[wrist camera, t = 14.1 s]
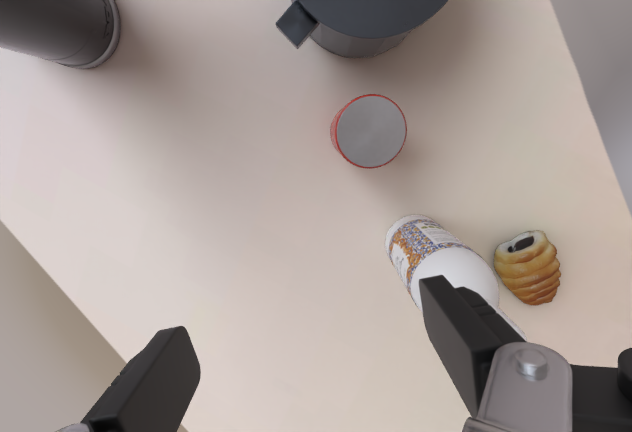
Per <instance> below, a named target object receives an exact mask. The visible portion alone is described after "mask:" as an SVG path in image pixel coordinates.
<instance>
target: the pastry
mask: <svg viewBox="0 0 632 432" xmlns="http://www.w3.org/2000/svg"><path fill="white" fill-rule="evenodd" d="M556 254H557V250H556V248H555V246H554V245H553V244H551V243H550V242H549V240H548V239H547V237H546V235H545V233H544V232H543V231H539V230H536V231H528V232H525V233H523V234H520V235H518V236H517V237H515V238H514V239H513V240H511V241H509V242H505V243H503V244H501V245H499V246H498V247H497V249H496V251H495V255H494V267H495V270H496V272H497V273H498V275H499V276H500V278H501V279H502V281H503V283H504V284H505V286H507V287H508V289H509V290H511V291H512V292H513V293H514V295H515V296H517V297H518V298H519V299H520V300H521V301H522V302H524V303H526V304H529V305H539V304H543V303H548V302H551V301H552V299H553V297H554V296H555V295H556V292H557V288H558V286H559V285H560V281H559V279H558V278H559V277H560V276H561V273H560V270H559V267H560V263H559V261H558V259H557V258H556V257H555V256H556Z"/></svg>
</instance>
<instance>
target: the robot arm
mask: <svg viewBox="0 0 632 432" xmlns="http://www.w3.org/2000/svg"><path fill="white" fill-rule="evenodd" d="M119 35H120V18H119V13H118V10H117V6H116V4H115V1H114V0H0V47H1V48H5V49H9V50H13V51H16V52H20V53H24V54H28V55H32V56H35V57H39V58H42V59H46V60H50V61H54V62H57V63H59V64H62V65H65V66H69V67H73V68H80V69H85V68H92V67H95V66H98V65H100V64H101V63H103V62H104V61H106V60H107V59H108V58H109V57H110V56H111V54H112V53H113V52H114V50H115V48H116V46H117V43H118V40H119ZM419 290H420V297H421V303H422V310H423V317H424V323H425V327H426V330H427V333H428V336H429V339H430V341H431V343H432V344H433V346H434V348H435V350H436V352H437V354H438V355H439V357H440V359H441V361H442V363H443V365H444V366H445V368H446V370H447V372H448V374H449V376H450V378H451V379H452V381H453V383H454V385H455V387H456V389H457V390H458V392H459V394H460V396H461V398H462V400H463V401H464V403H465V405H466V407H467V409H468V411H469V412H470V414H471V416H472V418H471V417H469V418H468V419H467V420H466V422H465V424H464V427H463V430H462V432H632V348H629V349H626V350H624V351H623V352H621V353H620V355H619V357H618V368H610V367H593V366H579V365H572V364H569V363H568V362H567V360H566V359H565V358H564V357H563V356H561V355H560V354H559V353H557V352H555V351H554V350H552V349H550V348H547V347H545V346H542V345H538V344H534V343H528V342H526V341H525V340H524V339H523V338H522V337H521V336H520V335H519V334H518V333H517V332H516V331H515V330H514V329H513V328H512V327H511V326H510V325H509V324H508V323H507V322H506V321H505V319H504V318H503V317H502V316H501V315H500V314H499V313H496V310H495V309H494V308H493V307H492V306H491V305H488V302H487V301H486V300H485V299H484V298H483V297H482V296H481V295H480V294H479V293H477V292H475V291H473V290H470V289H468V288H466V287H464V286H463V287H458V288H454V287H453V286H452V285H451V283H450V282H449V281H448V280H447V279H446V278H445V277H444V276H443V275H437V276H432V277H427V278H422V279H419ZM199 381H200V364H199V361H198V359H197V356H196V353H195V351H194V348H193V345H192V343H191V340H190V337H189V335H188V332H187V330H186V329H185V327H183V326H179V327H174V328H169V329H164V330H160V331H158V332H157V333H156V334H155V336H154V337H153V338H152V339H151V341H150V342H149V343H148V345H147V346H146V347H145V348H144V349H143V350H142V351H141V352H140V353H138V354H137V355H136V356H135V357H134V358H132V359H131V360H130V361H129V362H128V364H127V365H126V366H125V367H124V369H123V370H122V371H121V372H120V375H119V376H117V377H116V378H115V380H114V381H113V382H112V383H111V386H110V387H108V388H107V390H106V391H105V392H104V394H103V395H102V396H101V397H100V398H99V400H98V401H97V402H96V403H95V405H94V406H93V407H92V408H91V410H90V411H89V412H88V413H87V415H86V416H85V417H84V418H83V420H82V421H81V422H80V423H77V424H72V425H69V426H67V427H64V428H62V429H60V430H58V431H56V432H177V430H178V428H179V425H180V423H181V421H182V419H183V417H184V415H185V412H186V410H187V408H188V406H189V404H190V401H191V399H192V397H193V395H194V393H195V391H196V388H197V386H198V384H199Z"/></svg>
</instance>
